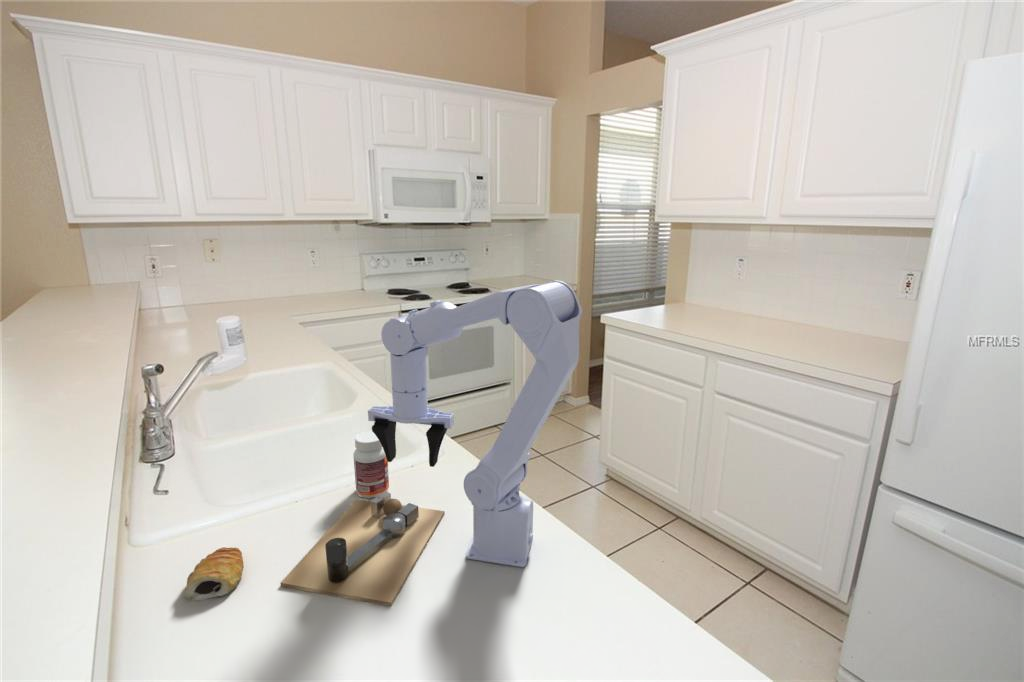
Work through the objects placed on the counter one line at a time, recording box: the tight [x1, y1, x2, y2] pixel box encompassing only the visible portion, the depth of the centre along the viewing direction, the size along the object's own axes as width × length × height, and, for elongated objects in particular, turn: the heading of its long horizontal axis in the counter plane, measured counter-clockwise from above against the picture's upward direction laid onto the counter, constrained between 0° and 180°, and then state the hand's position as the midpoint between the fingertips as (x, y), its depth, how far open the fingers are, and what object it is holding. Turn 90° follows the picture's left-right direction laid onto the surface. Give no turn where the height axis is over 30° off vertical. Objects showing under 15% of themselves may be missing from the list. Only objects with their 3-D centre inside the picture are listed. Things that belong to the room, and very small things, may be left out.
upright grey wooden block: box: [370, 491, 392, 518], centre depth 88 cm, size 4×1×3 cm, turn 153°
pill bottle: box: [353, 430, 390, 499], centre depth 95 cm, size 6×6×11 cm
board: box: [280, 498, 445, 607], centre depth 80 cm, size 17×22×1 cm
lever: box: [325, 502, 419, 582], centre depth 79 cm, size 18×4×5 cm, turn 151°
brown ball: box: [383, 498, 403, 516], centre depth 87 cm, size 3×3×3 cm
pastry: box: [183, 547, 244, 602], centre depth 73 cm, size 9×7×4 cm
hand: (412, 461), depth 86 cm, fingers open, 7 cm apart
